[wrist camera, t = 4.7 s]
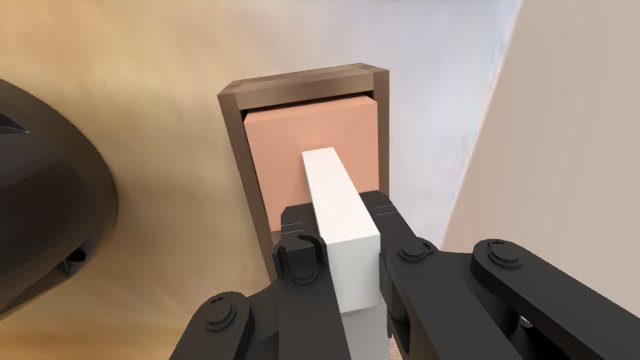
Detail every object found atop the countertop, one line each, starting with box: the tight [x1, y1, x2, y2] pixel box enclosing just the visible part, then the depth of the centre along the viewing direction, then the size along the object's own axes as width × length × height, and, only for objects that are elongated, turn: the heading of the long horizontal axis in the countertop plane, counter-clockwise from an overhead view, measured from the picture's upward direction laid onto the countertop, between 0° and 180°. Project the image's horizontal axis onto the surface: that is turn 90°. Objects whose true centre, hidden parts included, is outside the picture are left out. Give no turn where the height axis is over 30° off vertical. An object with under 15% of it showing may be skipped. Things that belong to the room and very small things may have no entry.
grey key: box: [340, 294, 389, 360], centre depth 20 cm, size 6×6×5 cm
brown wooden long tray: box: [217, 63, 389, 284], centre depth 22 cm, size 8×32×5 cm, turn 7°
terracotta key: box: [244, 92, 379, 232], centre depth 16 cm, size 6×6×5 cm
